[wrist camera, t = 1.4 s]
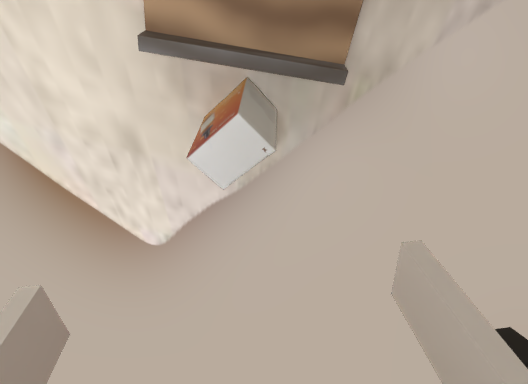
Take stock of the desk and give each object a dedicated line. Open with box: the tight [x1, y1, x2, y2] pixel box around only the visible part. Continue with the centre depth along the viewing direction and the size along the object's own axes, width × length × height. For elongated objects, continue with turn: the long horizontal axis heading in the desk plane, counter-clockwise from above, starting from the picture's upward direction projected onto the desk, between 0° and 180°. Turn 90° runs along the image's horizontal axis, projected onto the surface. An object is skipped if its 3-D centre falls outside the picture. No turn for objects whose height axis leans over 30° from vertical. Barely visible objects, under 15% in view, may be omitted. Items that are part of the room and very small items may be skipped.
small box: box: [187, 77, 277, 190], centre depth 37 cm, size 8×6×10 cm
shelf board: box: [138, 0, 363, 85], centre depth 32 cm, size 12×22×4 cm, turn 81°
